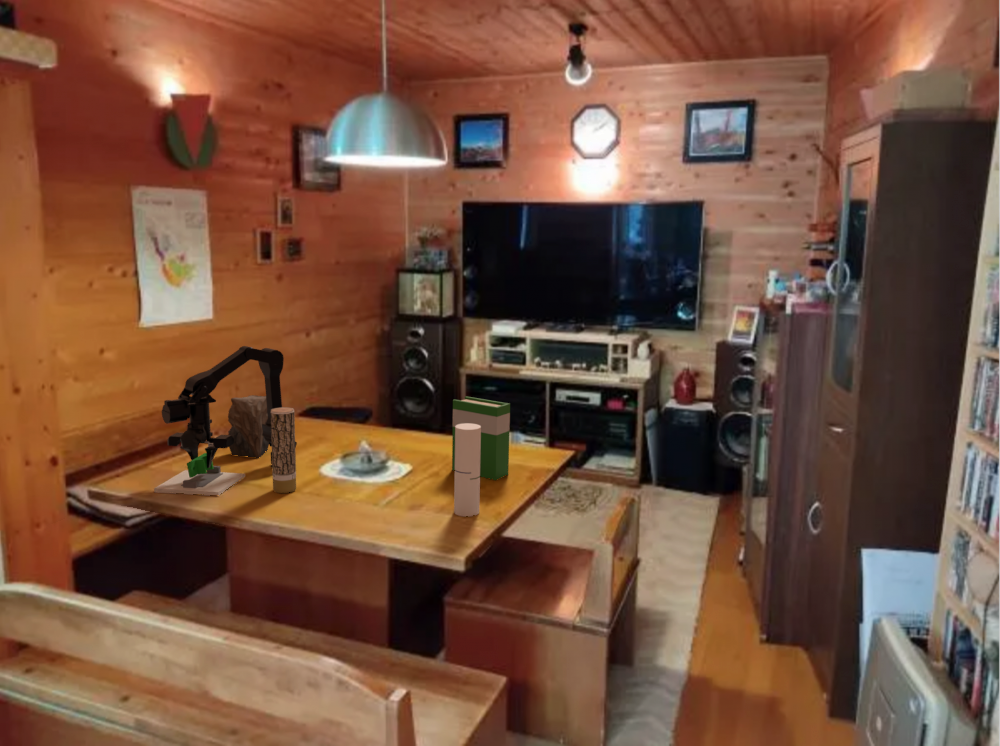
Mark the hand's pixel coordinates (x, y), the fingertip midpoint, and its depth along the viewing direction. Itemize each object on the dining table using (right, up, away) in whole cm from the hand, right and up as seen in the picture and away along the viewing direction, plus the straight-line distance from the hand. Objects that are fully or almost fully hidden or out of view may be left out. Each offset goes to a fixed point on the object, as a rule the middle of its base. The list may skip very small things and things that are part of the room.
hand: (202, 467), depth 234 cm
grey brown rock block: (+4, 0, +33) cm, 33 cm away
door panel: (0, -5, 0) cm, 5 cm away
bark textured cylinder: (+26, -7, -4) cm, 28 cm away
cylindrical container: (+82, -11, -18) cm, 85 cm away
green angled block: (0, -2, 0) cm, 2 cm away
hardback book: (+85, -4, +18) cm, 87 cm away
